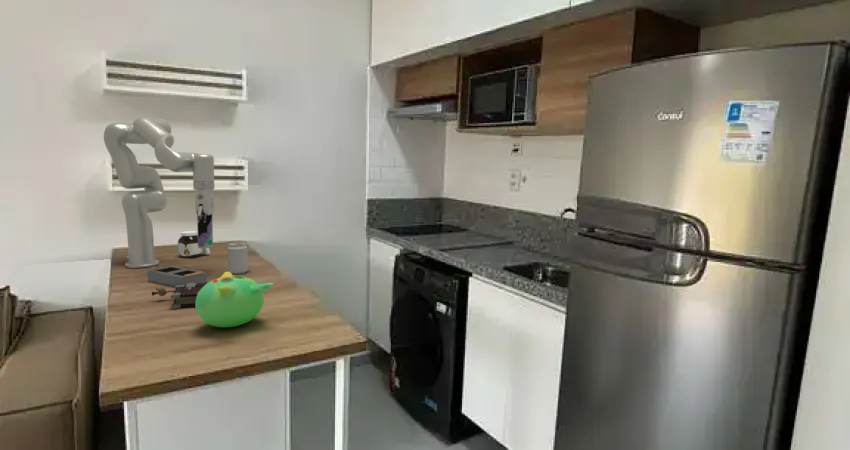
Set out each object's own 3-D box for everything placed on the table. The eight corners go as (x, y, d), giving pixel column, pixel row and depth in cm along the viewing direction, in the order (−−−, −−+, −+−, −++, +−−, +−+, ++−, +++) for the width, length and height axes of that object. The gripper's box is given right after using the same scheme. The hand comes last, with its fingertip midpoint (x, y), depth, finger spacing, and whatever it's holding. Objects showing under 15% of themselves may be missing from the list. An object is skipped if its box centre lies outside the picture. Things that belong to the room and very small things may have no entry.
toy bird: (245, 311, 150) (243, 264, 148) (278, 323, 140) (276, 273, 138) (186, 326, 136) (183, 275, 134) (217, 341, 126) (214, 285, 124)
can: (251, 270, 203) (250, 241, 201) (243, 274, 195) (241, 245, 194) (234, 270, 204) (232, 241, 202) (224, 274, 196) (223, 244, 195)
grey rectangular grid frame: (148, 281, 184) (147, 270, 184) (173, 275, 193) (172, 265, 192) (182, 288, 175) (181, 276, 174) (207, 282, 183) (206, 271, 183)
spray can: (202, 249, 193) (201, 198, 190) (195, 246, 196) (193, 196, 193) (215, 247, 197) (214, 197, 194) (208, 245, 200) (207, 196, 197)
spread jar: (175, 257, 227) (174, 232, 225) (193, 253, 238) (192, 229, 236) (197, 259, 223) (195, 234, 222) (214, 254, 234) (213, 230, 232)
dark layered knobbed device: (234, 305, 157) (233, 289, 157) (145, 312, 149) (144, 296, 148) (235, 293, 171) (234, 279, 170) (154, 299, 163) (153, 284, 162)
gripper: (208, 187, 185) (209, 235, 188) (219, 184, 202) (220, 228, 205) (186, 187, 184) (188, 235, 187) (200, 183, 201) (201, 227, 203)
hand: (205, 230), depth 196 cm, fingers closed on spray can, 5 cm apart
